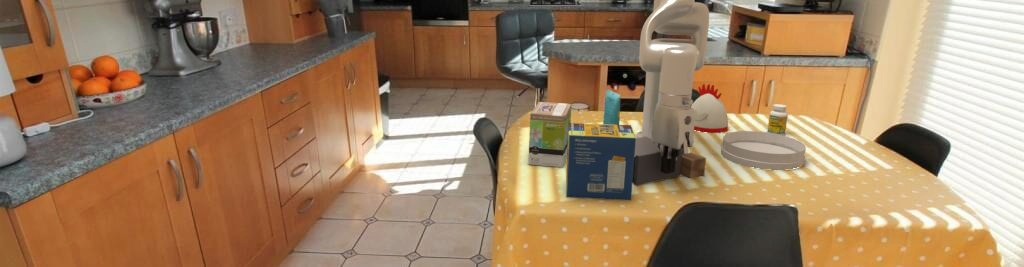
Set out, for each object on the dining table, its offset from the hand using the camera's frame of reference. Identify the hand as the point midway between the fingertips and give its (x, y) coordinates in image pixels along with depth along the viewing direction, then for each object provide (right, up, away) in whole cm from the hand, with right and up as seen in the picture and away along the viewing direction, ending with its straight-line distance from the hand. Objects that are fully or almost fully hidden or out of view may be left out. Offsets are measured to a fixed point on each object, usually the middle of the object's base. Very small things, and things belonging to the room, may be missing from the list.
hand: (667, 171), depth 137 cm
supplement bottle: (+49, +9, +46) cm, 68 cm away
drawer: (-4, -1, +8) cm, 9 cm away
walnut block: (+8, -1, +8) cm, 12 cm away
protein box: (-18, -5, -3) cm, 19 cm away
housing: (-5, -1, +10) cm, 11 cm away
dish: (+33, +2, +23) cm, 40 cm away
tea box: (-28, +2, +20) cm, 35 cm away
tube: (-11, +2, +20) cm, 23 cm away
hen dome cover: (+28, +11, +52) cm, 60 cm away
